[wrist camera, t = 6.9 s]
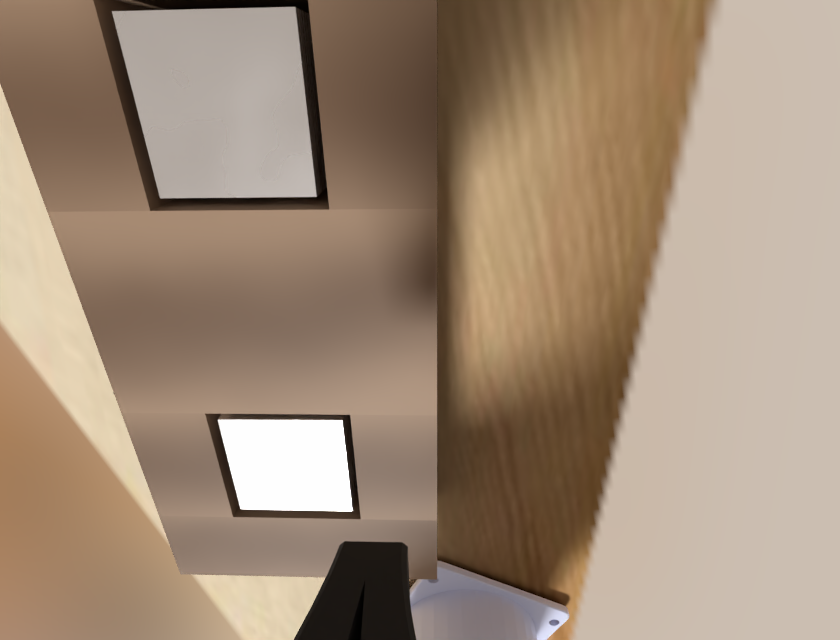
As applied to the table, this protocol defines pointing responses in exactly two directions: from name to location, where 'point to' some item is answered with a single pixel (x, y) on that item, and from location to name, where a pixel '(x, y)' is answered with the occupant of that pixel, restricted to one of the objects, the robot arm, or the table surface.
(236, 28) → the pin
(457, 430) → the table surface
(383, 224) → the block
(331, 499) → the pin
